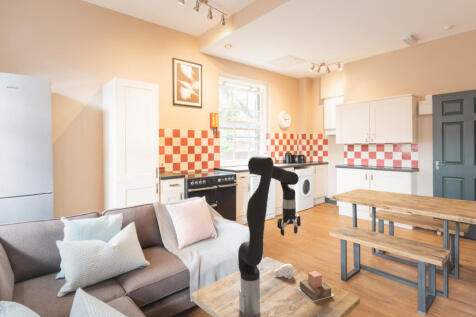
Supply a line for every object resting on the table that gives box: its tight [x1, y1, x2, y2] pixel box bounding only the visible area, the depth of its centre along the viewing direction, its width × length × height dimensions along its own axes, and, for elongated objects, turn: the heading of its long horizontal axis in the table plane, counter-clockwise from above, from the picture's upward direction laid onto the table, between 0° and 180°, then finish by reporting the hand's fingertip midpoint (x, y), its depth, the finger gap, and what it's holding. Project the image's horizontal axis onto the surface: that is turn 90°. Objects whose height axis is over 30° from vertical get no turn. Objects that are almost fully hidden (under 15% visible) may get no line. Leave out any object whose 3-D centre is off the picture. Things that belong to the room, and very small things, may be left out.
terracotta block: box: [307, 270, 323, 288], centre depth 140 cm, size 5×5×6 cm
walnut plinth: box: [299, 279, 332, 300], centre depth 140 cm, size 11×12×4 cm
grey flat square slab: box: [296, 286, 335, 303], centre depth 140 cm, size 14×14×1 cm
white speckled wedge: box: [273, 263, 294, 280], centre depth 157 cm, size 6×8×12 cm
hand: (289, 234), depth 152 cm, fingers open, 8 cm apart
